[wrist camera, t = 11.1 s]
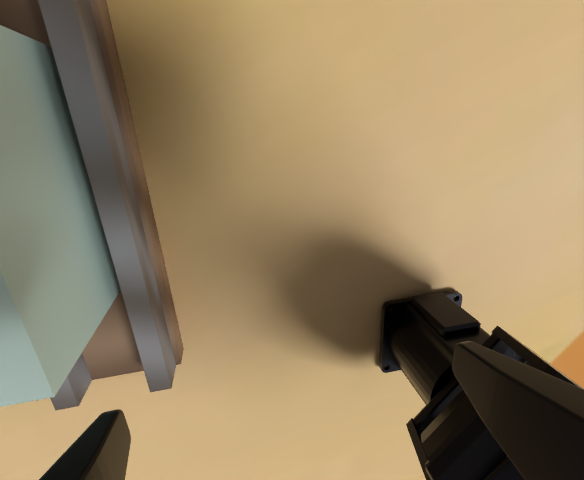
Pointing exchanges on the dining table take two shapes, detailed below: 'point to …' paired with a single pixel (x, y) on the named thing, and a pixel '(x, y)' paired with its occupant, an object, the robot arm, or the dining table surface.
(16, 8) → the track base
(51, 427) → the dining table surface
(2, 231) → the door panel
